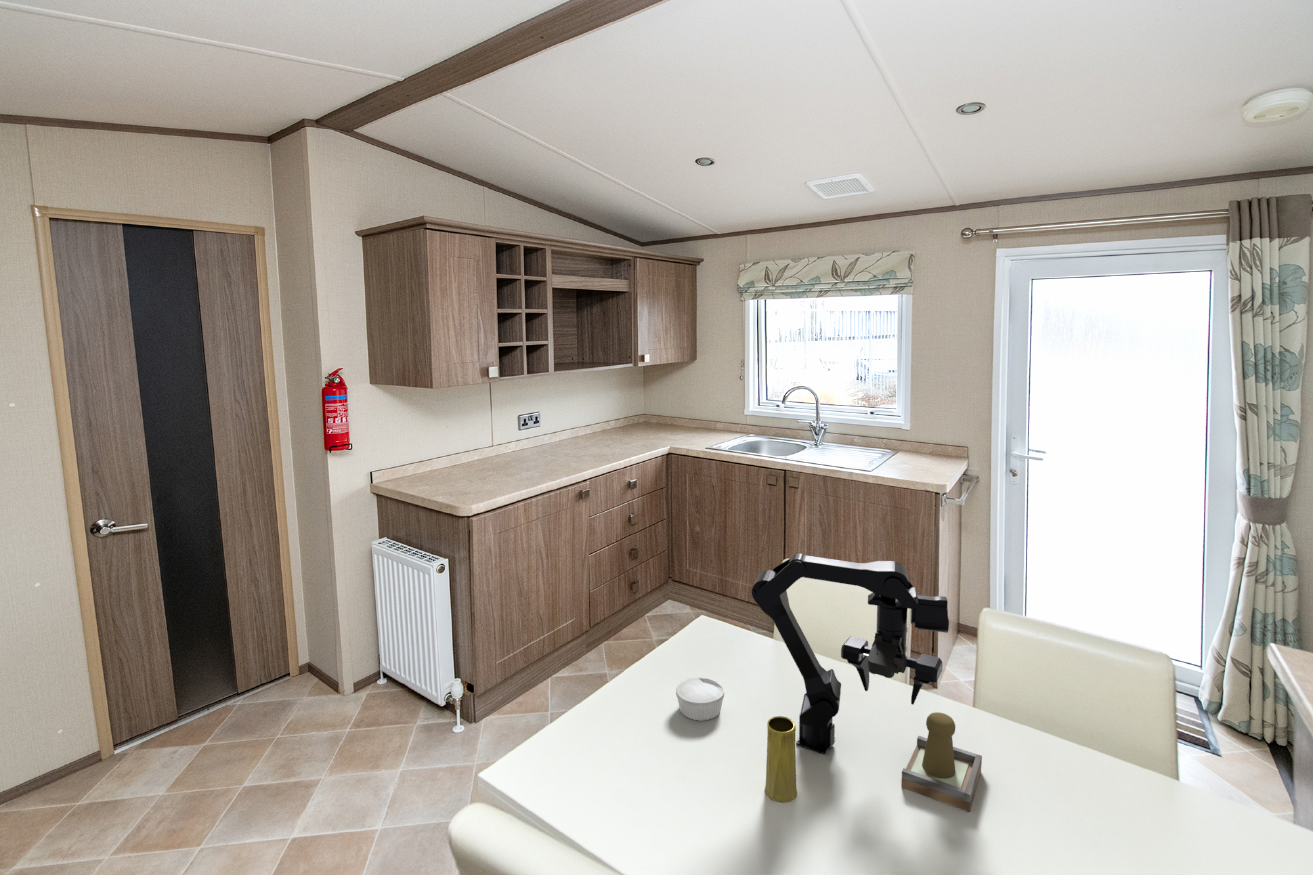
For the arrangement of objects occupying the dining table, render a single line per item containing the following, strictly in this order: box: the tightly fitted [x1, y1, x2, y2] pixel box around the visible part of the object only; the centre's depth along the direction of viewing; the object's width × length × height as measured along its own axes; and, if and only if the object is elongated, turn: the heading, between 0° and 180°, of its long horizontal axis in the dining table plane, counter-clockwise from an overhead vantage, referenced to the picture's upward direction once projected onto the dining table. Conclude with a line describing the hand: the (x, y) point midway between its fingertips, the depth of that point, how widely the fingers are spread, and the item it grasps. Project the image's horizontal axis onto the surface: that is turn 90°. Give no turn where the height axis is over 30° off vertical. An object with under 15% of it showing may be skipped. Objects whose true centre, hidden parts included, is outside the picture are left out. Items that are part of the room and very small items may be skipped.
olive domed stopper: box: [922, 711, 956, 779], centre depth 126 cm, size 6×6×11 cm
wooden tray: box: [900, 735, 983, 813], centre depth 126 cm, size 12×13×4 cm
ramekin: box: [675, 677, 725, 722], centre depth 152 cm, size 11×11×5 cm
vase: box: [764, 715, 798, 803], centre depth 124 cm, size 6×6×14 cm
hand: (889, 696), depth 132 cm, fingers open, 9 cm apart
